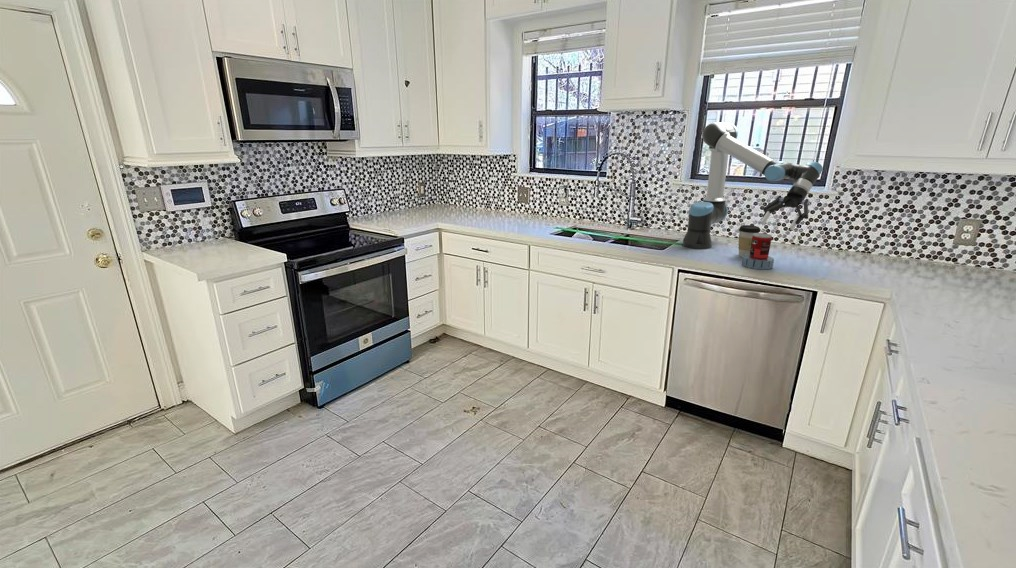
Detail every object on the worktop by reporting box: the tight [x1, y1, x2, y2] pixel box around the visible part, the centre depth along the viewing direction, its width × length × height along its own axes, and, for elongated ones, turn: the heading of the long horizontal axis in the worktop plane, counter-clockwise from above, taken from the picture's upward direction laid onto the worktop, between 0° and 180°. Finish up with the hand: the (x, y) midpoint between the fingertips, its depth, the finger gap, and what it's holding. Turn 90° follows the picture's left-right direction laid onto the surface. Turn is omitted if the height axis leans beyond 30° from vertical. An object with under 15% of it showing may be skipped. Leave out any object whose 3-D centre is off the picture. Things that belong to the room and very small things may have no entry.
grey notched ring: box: [741, 254, 775, 271], centre depth 221 cm, size 13×13×4 cm
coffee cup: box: [737, 224, 761, 258], centre depth 236 cm, size 10×10×15 cm
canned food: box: [750, 232, 773, 260], centre depth 219 cm, size 8×8×11 cm
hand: (776, 226), depth 217 cm, fingers open, 13 cm apart
